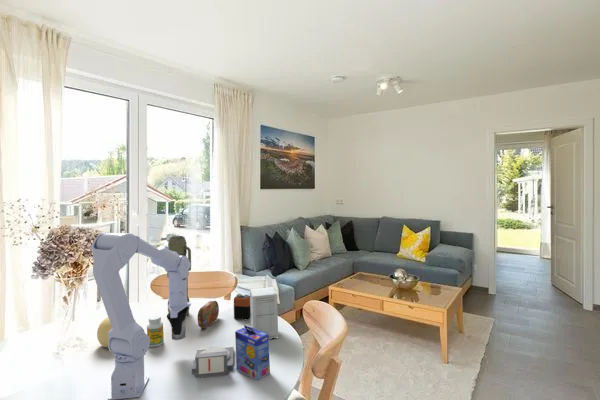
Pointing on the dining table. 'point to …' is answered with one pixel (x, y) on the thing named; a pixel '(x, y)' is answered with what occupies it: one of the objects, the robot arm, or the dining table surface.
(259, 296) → the white tall box
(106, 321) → the sculpture
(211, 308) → the tin
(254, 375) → the ink cartridge box
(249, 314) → the battery
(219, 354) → the scale
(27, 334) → the dining table surface
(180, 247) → the thermos
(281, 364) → the dining table surface
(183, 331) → the silver metal cylinder
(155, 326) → the supplement bottle
